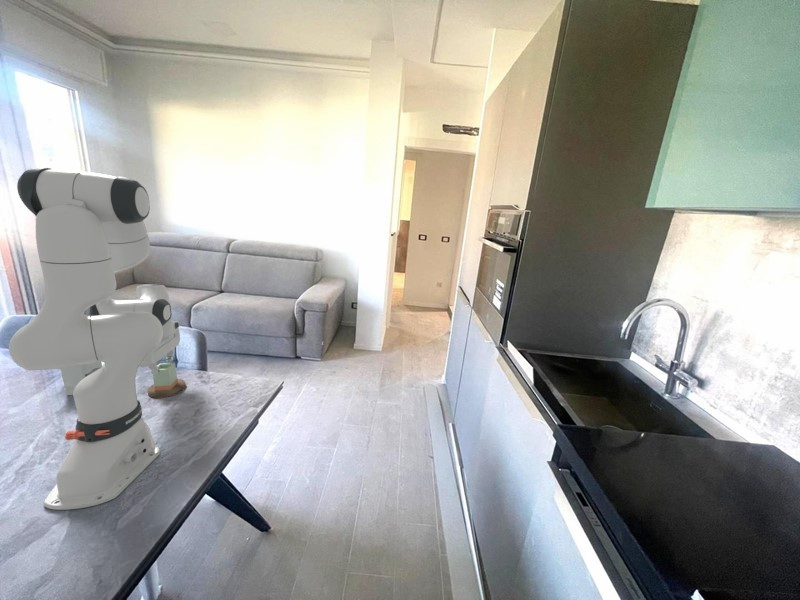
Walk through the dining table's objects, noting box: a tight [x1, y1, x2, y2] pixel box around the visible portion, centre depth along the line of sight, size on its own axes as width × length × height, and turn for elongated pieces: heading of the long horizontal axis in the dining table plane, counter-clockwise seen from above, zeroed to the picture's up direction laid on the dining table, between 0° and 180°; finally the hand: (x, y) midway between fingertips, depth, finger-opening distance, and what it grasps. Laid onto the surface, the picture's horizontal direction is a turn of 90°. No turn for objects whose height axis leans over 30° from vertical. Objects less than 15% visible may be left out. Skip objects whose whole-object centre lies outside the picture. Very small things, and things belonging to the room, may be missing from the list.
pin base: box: [147, 378, 186, 399], centre depth 114 cm, size 11×11×6 cm
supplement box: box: [60, 362, 103, 396], centre depth 110 cm, size 7×7×13 cm
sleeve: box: [152, 362, 179, 391], centre depth 113 cm, size 5×5×8 cm
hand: (163, 366), depth 112 cm, fingers open, 8 cm apart
